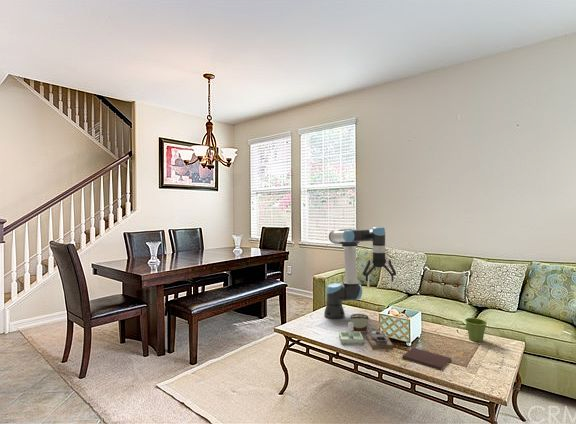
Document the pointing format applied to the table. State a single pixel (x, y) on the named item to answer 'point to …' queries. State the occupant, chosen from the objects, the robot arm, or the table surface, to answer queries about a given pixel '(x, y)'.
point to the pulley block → (378, 340)
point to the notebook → (426, 358)
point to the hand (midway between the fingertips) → (379, 286)
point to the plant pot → (475, 328)
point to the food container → (359, 322)
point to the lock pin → (350, 330)
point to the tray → (345, 339)
